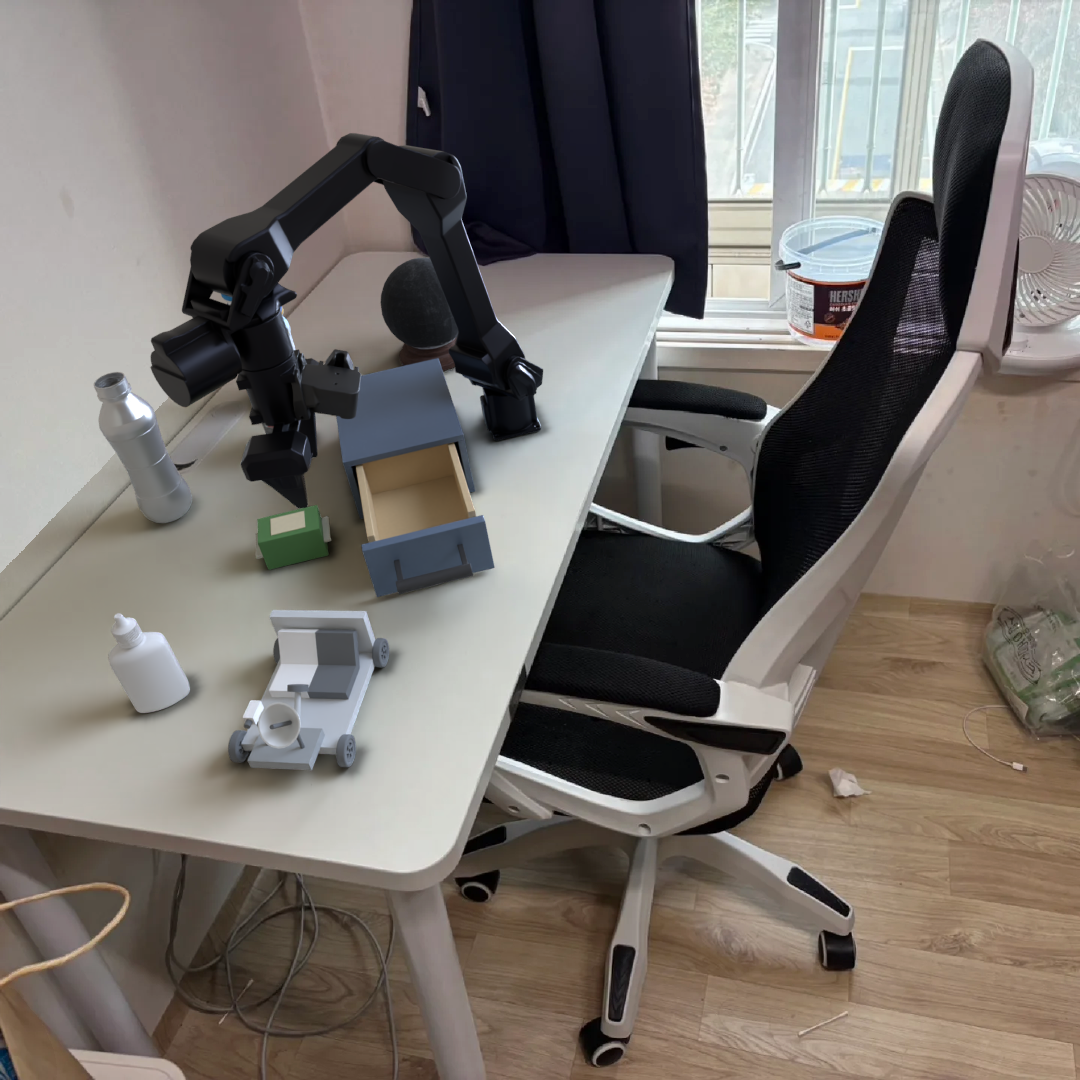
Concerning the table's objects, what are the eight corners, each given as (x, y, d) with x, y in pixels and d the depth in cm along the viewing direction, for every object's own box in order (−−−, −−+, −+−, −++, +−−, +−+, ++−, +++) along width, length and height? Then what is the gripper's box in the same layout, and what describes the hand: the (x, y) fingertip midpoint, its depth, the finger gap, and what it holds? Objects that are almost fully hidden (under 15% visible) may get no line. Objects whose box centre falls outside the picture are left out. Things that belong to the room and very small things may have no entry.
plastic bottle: (207, 500, 128) (149, 366, 115) (177, 533, 123) (113, 397, 110) (166, 494, 130) (105, 363, 117) (135, 527, 125) (68, 393, 112)
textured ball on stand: (424, 386, 143) (402, 291, 133) (378, 357, 152) (354, 266, 142) (495, 350, 149) (479, 257, 139) (447, 324, 157) (428, 234, 147)
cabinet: (475, 491, 122) (463, 434, 116) (360, 519, 120) (342, 462, 115) (449, 411, 137) (438, 357, 131) (347, 435, 135) (331, 382, 130)
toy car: (312, 729, 83) (187, 724, 85) (341, 797, 89) (224, 791, 91) (369, 583, 96) (260, 582, 98) (391, 651, 102) (288, 649, 104)
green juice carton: (261, 571, 115) (250, 544, 112) (261, 547, 119) (250, 519, 116) (335, 553, 116) (326, 526, 113) (332, 529, 120) (323, 502, 117)
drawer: (503, 596, 105) (494, 549, 101) (381, 627, 104) (366, 580, 100) (466, 475, 123) (456, 431, 119) (361, 500, 122) (347, 456, 117)
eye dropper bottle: (146, 682, 103) (99, 601, 96) (196, 680, 103) (153, 598, 95) (130, 715, 100) (80, 633, 92) (182, 713, 99) (136, 630, 92)
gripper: (336, 394, 90) (375, 524, 100) (352, 302, 104) (385, 424, 114) (217, 411, 90) (268, 539, 100) (249, 317, 104) (291, 437, 114)
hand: (308, 481), depth 107 cm, fingers open, 9 cm apart
